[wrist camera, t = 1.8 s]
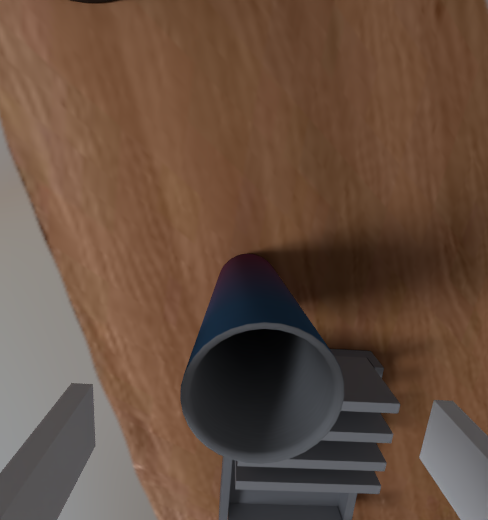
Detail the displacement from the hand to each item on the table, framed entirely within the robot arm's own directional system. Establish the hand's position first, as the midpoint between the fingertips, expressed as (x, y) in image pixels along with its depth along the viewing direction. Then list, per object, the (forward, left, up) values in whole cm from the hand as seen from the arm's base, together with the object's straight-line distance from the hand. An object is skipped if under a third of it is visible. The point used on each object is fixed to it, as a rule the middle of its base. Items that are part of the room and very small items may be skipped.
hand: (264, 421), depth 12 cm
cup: (0, 0, -16) cm, 16 cm away
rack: (+15, +6, -16) cm, 22 cm away
